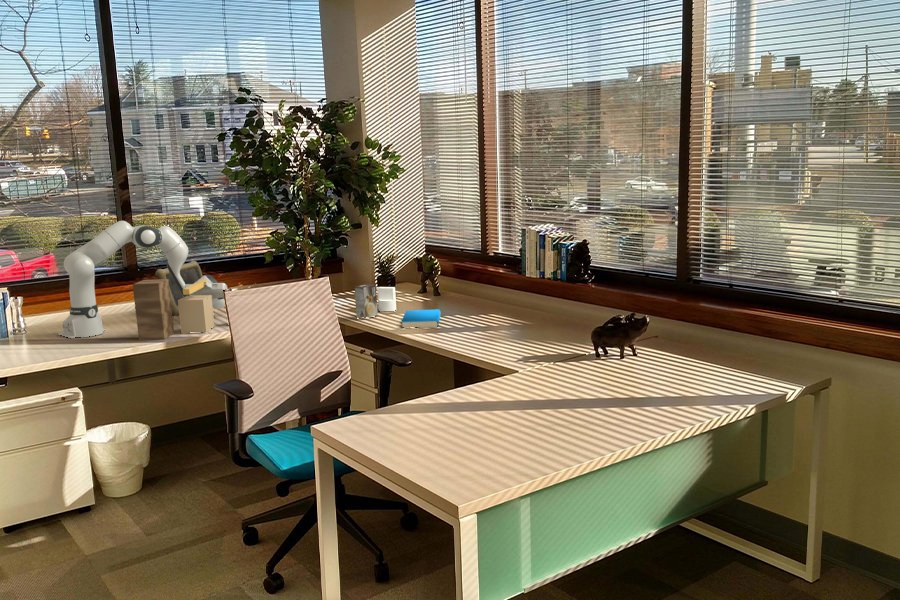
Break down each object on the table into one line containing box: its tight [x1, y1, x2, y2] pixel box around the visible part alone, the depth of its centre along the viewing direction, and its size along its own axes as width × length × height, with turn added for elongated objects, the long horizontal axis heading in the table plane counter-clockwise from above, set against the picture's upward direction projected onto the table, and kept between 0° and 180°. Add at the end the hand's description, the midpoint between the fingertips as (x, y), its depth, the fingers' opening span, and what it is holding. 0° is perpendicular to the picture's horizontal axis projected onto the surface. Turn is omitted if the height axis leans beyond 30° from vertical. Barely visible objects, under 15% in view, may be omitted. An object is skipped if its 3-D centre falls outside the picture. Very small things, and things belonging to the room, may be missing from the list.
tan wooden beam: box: [183, 280, 208, 295], centre depth 401 cm, size 26×3×2 cm, turn 177°
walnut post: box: [132, 278, 175, 341], centre depth 390 cm, size 12×12×26 cm
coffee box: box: [353, 283, 379, 318], centre depth 414 cm, size 9×6×16 cm
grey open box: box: [154, 260, 204, 317], centre depth 454 cm, size 33×14×25 cm, turn 165°
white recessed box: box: [377, 286, 397, 312], centre depth 430 cm, size 9×9×12 cm
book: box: [400, 308, 442, 329], centre depth 399 cm, size 17×4×25 cm
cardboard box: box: [178, 295, 215, 333], centre depth 401 cm, size 12×12×16 cm
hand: (200, 283), depth 407 cm, fingers closed on tan wooden beam, 3 cm apart
